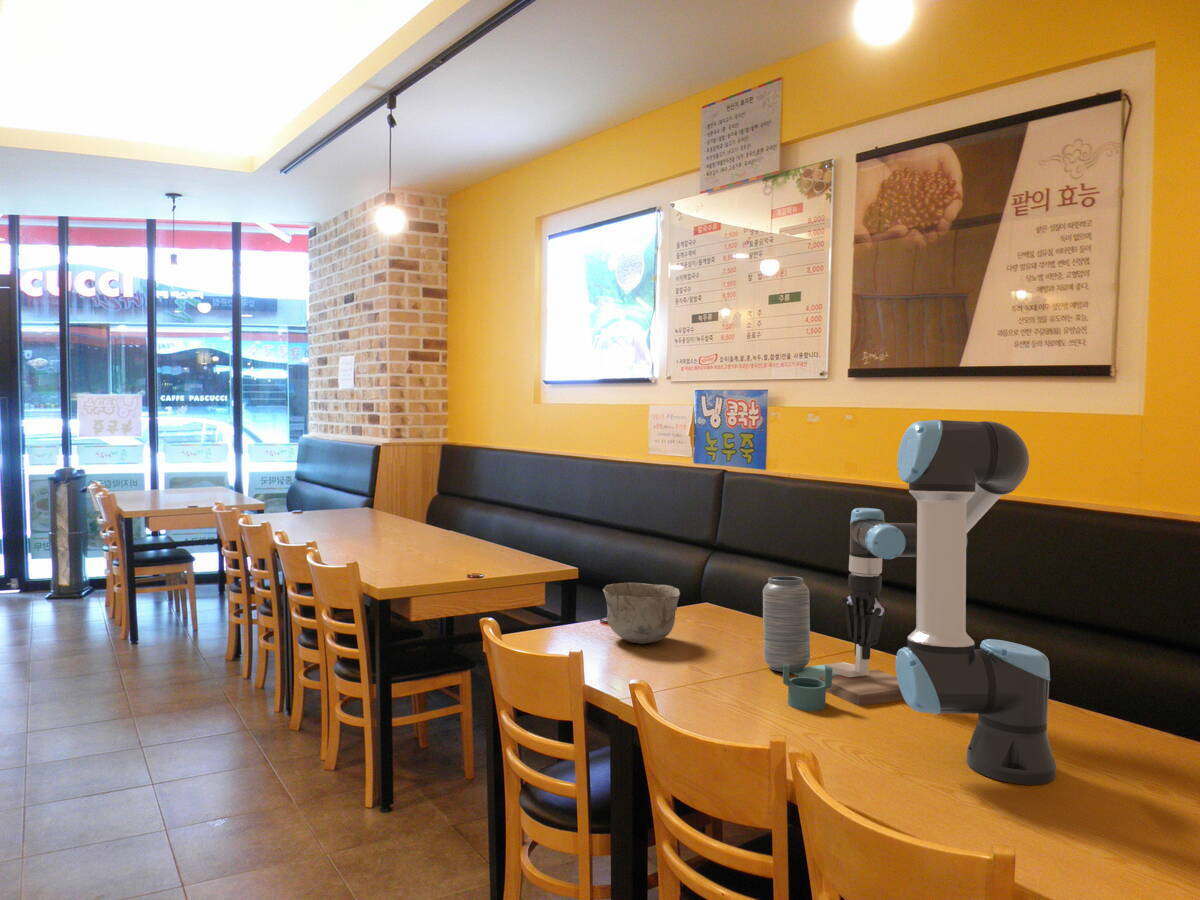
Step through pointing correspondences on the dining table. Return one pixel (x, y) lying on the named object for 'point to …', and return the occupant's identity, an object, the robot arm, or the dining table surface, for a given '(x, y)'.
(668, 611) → the bowl
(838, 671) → the white rectangular block
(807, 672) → the mat
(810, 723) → the dining table surface
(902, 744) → the dining table surface
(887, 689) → the brown wooden flat board
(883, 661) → the dining table surface
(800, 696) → the bracket
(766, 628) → the vase
